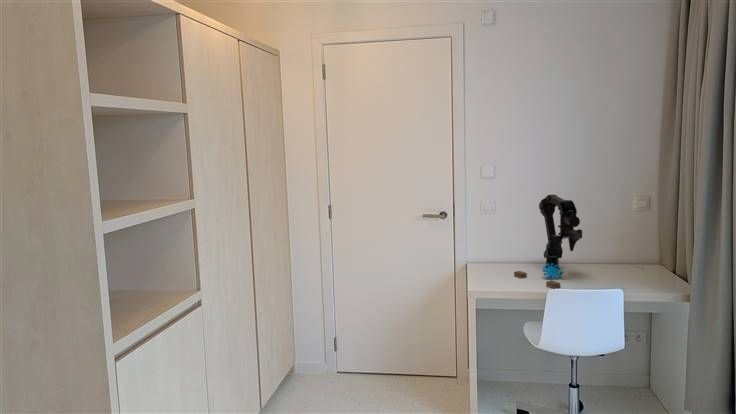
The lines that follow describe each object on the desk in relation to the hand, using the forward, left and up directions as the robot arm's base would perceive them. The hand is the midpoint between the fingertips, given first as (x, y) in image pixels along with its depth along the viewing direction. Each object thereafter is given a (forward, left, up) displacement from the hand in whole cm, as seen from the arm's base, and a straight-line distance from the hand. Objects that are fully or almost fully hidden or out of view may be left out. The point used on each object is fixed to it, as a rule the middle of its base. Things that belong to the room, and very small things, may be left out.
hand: (565, 252), depth 293 cm
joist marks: (+21, 0, -13) cm, 24 cm away
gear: (+9, 0, -13) cm, 16 cm away
